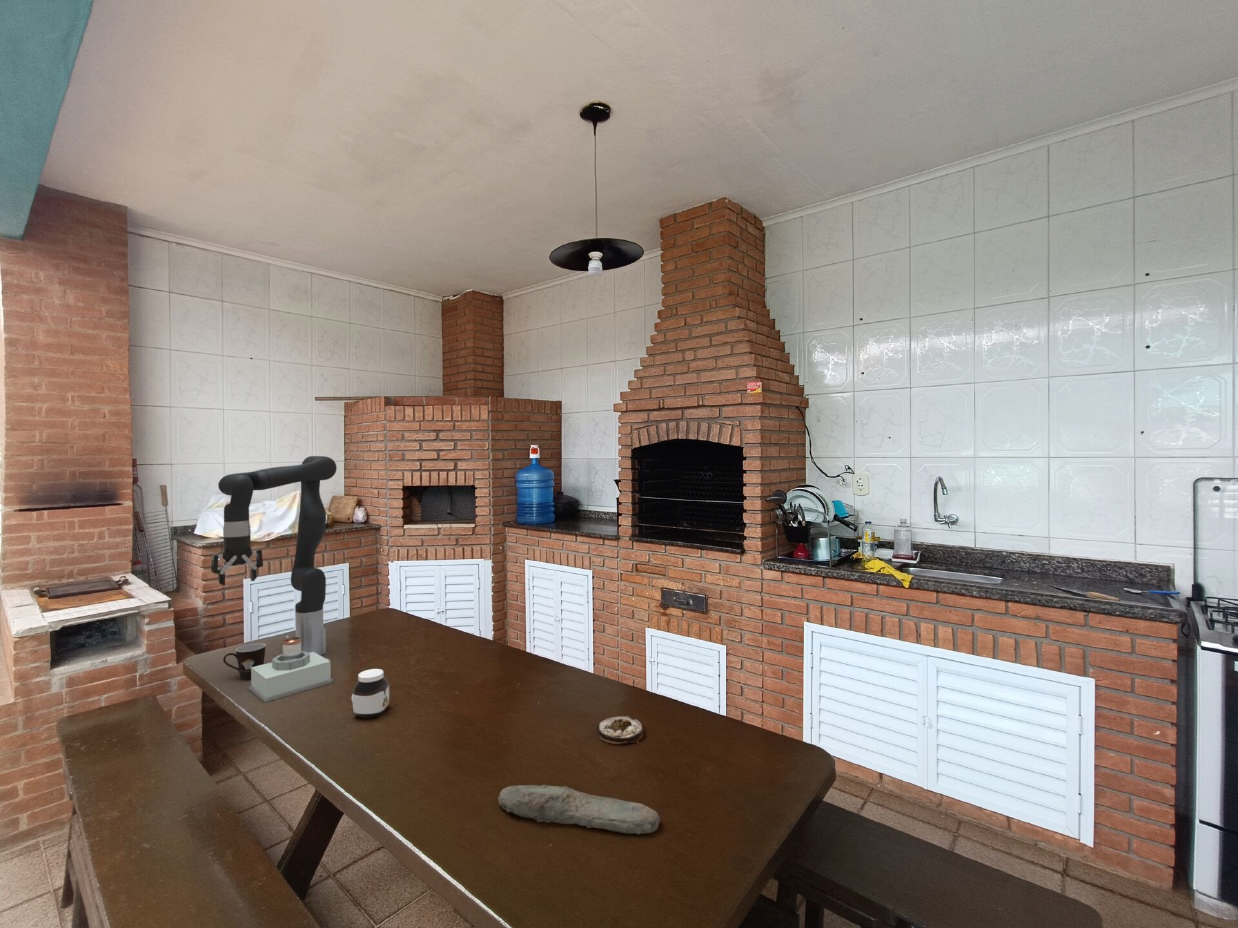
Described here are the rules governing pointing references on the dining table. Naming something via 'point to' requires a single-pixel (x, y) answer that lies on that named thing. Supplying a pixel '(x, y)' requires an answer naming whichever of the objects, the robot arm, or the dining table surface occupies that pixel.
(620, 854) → the dining table surface
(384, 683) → the spread jar
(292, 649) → the spout can
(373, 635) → the dining table surface
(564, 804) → the long grey stone
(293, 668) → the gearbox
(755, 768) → the dining table surface
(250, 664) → the coffee mug
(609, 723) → the sushi roll
